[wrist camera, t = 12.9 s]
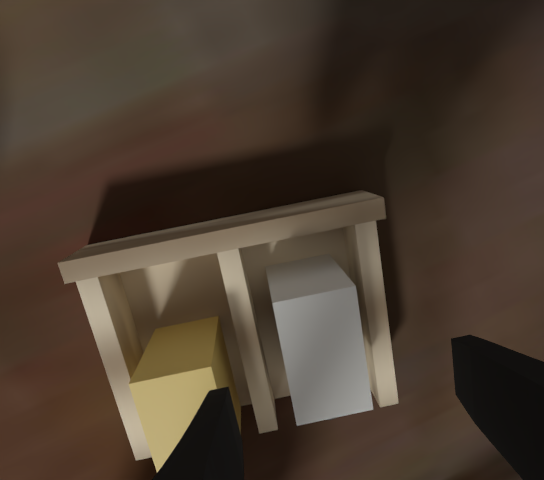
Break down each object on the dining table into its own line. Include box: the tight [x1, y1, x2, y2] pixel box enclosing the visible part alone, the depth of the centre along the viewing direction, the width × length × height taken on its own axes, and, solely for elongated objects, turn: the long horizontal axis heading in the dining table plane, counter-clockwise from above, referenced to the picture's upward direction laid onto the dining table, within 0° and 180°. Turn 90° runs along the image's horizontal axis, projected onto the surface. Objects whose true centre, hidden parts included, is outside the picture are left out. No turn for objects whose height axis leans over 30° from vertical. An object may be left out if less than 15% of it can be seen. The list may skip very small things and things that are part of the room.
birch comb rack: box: [58, 190, 398, 460], centre depth 20 cm, size 11×15×3 cm
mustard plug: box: [129, 316, 241, 472], centre depth 19 cm, size 8×4×5 cm, turn 11°
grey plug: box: [265, 254, 373, 426], centre depth 19 cm, size 8×4×5 cm, turn 10°
